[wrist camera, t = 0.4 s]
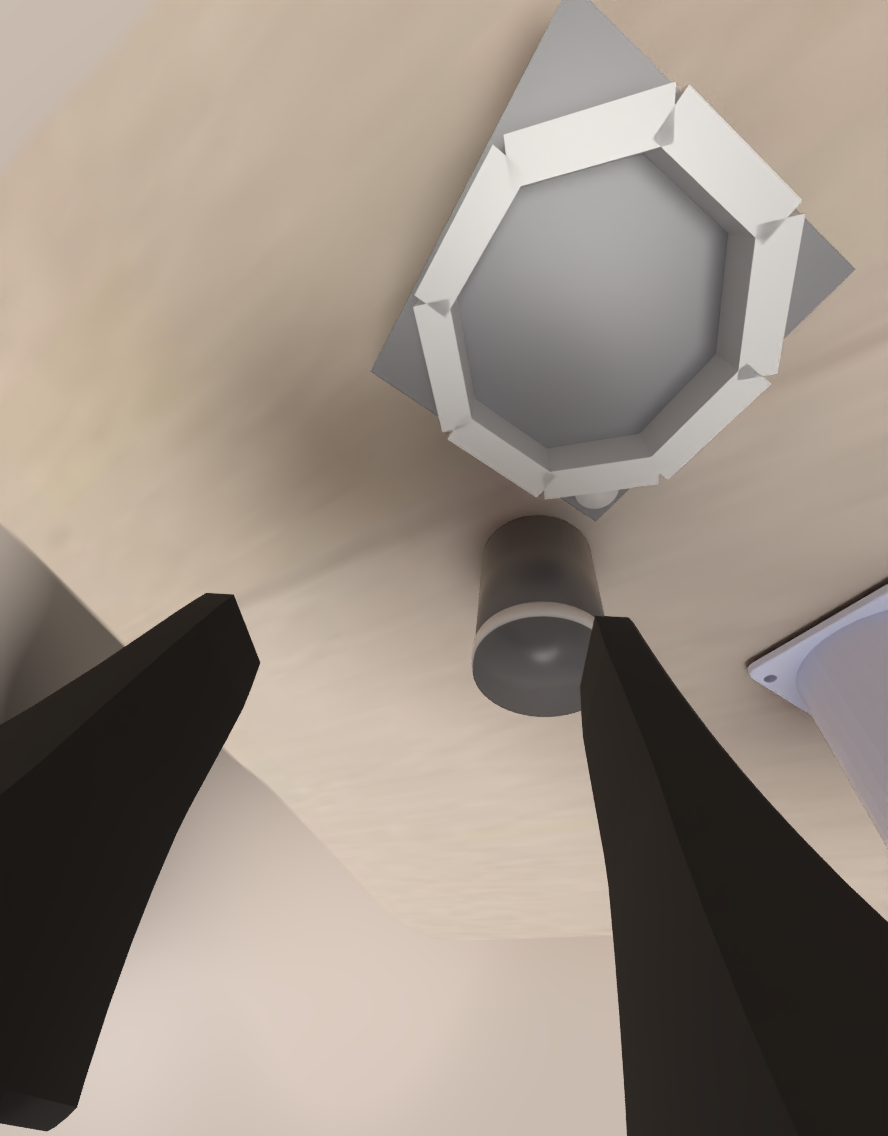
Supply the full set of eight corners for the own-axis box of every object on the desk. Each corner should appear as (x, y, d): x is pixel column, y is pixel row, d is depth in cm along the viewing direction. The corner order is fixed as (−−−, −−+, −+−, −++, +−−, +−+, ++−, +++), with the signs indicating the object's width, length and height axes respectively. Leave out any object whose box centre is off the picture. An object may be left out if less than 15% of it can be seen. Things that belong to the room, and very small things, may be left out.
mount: (792, 256, 13) (898, 278, 9) (584, 477, 17) (602, 549, 14) (559, 28, 11) (579, -55, 7) (392, 345, 15) (356, 388, 12)
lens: (616, 552, 19) (649, 668, 14) (543, 617, 22) (551, 733, 17) (526, 493, 18) (530, 598, 13) (460, 569, 21) (444, 679, 16)
